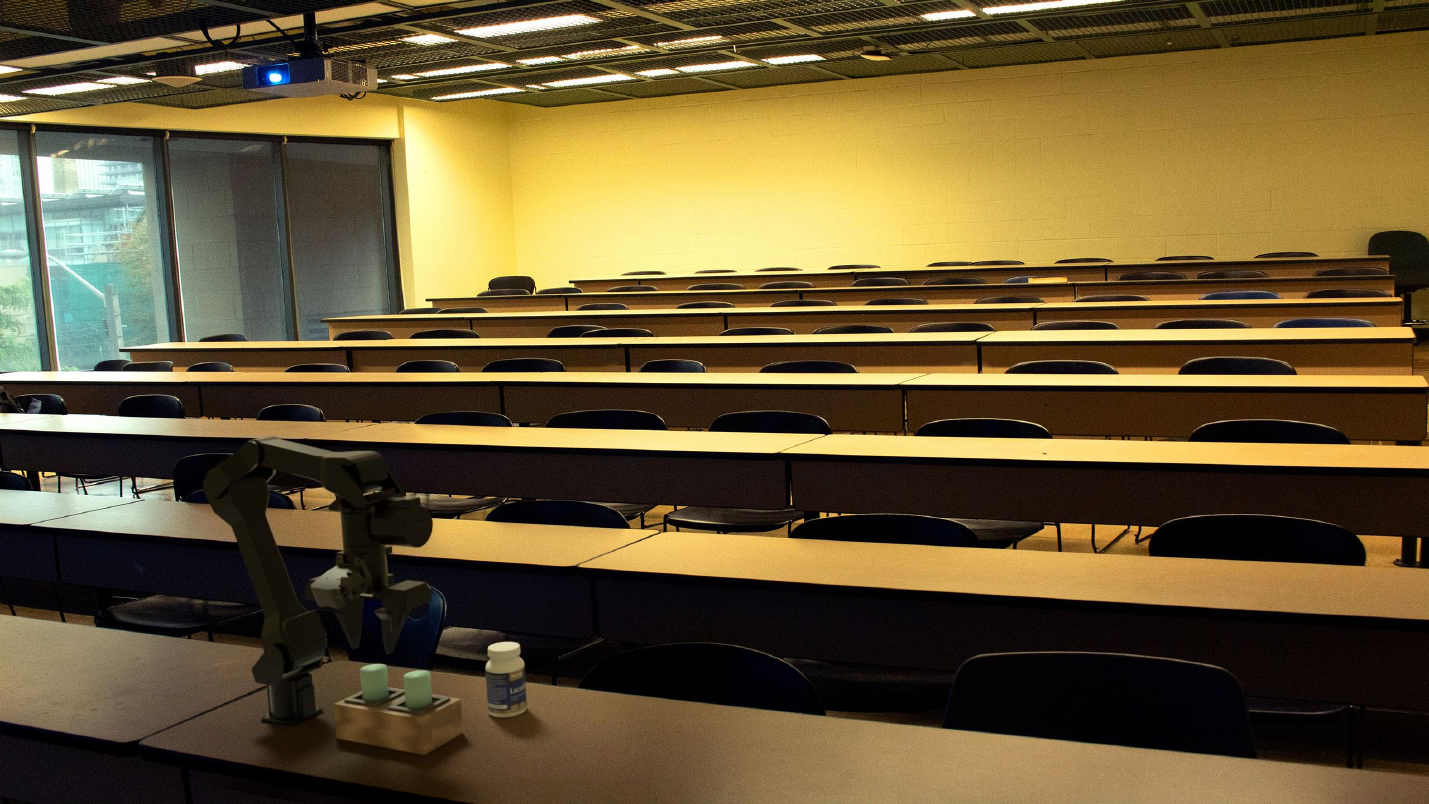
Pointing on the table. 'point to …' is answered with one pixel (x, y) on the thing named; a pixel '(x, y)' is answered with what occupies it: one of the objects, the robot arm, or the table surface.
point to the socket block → (398, 722)
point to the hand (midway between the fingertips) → (372, 650)
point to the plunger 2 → (418, 689)
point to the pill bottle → (505, 680)
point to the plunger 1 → (374, 682)
